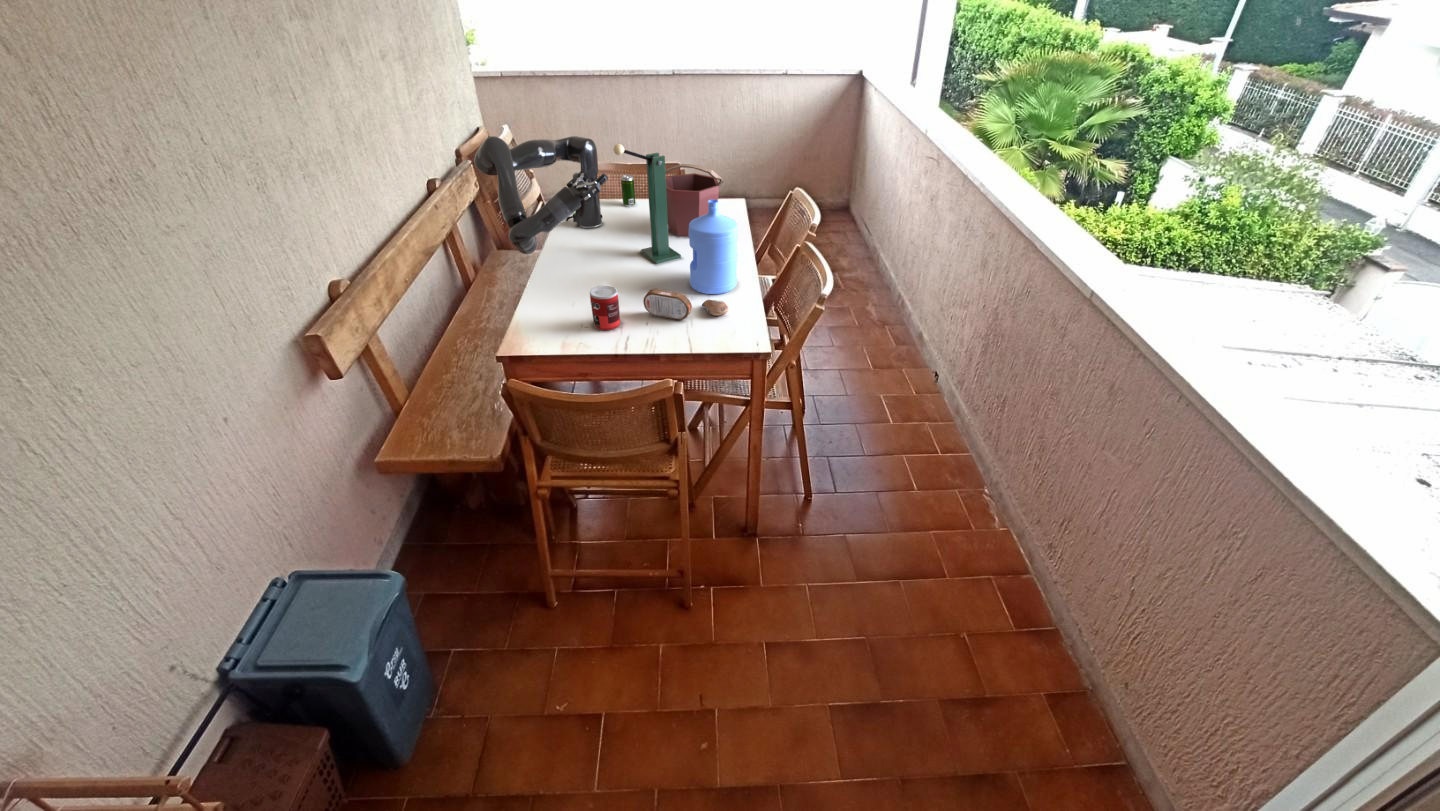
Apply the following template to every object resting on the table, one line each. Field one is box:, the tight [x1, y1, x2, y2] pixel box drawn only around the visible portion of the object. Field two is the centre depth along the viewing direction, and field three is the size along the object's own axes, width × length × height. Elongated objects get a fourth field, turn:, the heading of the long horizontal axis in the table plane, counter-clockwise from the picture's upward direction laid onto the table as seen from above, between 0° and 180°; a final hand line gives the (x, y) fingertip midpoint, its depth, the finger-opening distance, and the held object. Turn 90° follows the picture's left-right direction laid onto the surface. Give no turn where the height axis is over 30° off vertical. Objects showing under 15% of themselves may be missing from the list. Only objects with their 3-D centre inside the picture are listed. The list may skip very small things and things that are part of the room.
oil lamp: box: [701, 299, 729, 317], centre depth 197 cm, size 9×4×8 cm
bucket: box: [665, 163, 724, 238], centre depth 246 cm, size 24×22×25 cm
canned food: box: [589, 285, 621, 331], centre depth 189 cm, size 8×8×11 cm
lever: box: [613, 143, 655, 164], centre depth 208 cm, size 17×3×3 cm, turn 123°
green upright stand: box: [640, 152, 682, 265], centre depth 222 cm, size 10×12×35 cm
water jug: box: [688, 199, 739, 295], centre depth 206 cm, size 16×16×28 cm
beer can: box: [620, 174, 636, 208], centre depth 273 cm, size 5×5×12 cm
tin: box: [642, 288, 693, 321], centre depth 193 cm, size 15×3×8 cm, turn 71°
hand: (600, 172), depth 205 cm, fingers open, 8 cm apart
